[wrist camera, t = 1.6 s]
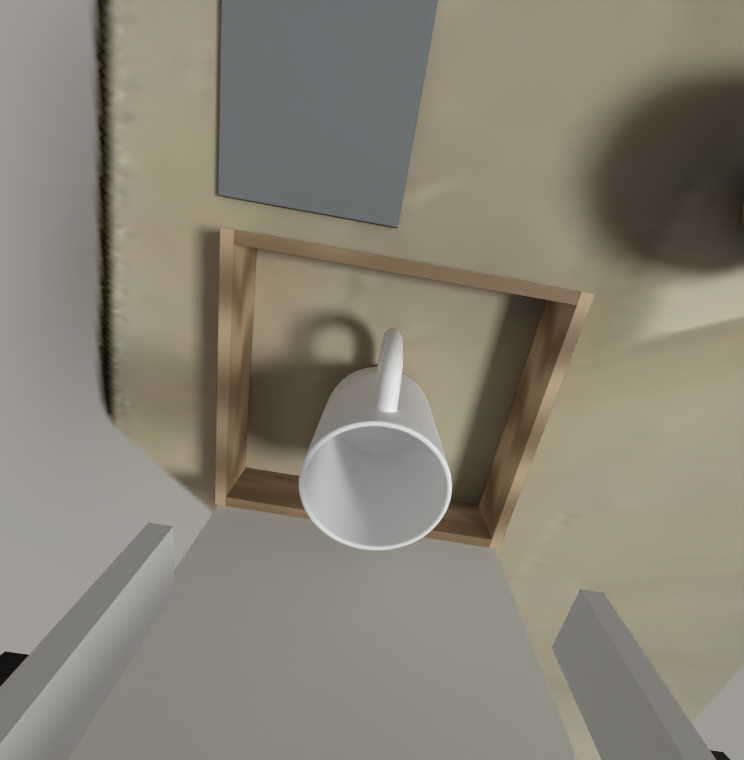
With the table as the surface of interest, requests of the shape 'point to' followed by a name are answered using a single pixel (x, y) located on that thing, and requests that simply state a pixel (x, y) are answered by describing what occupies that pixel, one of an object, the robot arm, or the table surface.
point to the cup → (376, 459)
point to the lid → (330, 656)
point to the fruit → (743, 213)
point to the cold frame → (555, 324)
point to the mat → (321, 103)
